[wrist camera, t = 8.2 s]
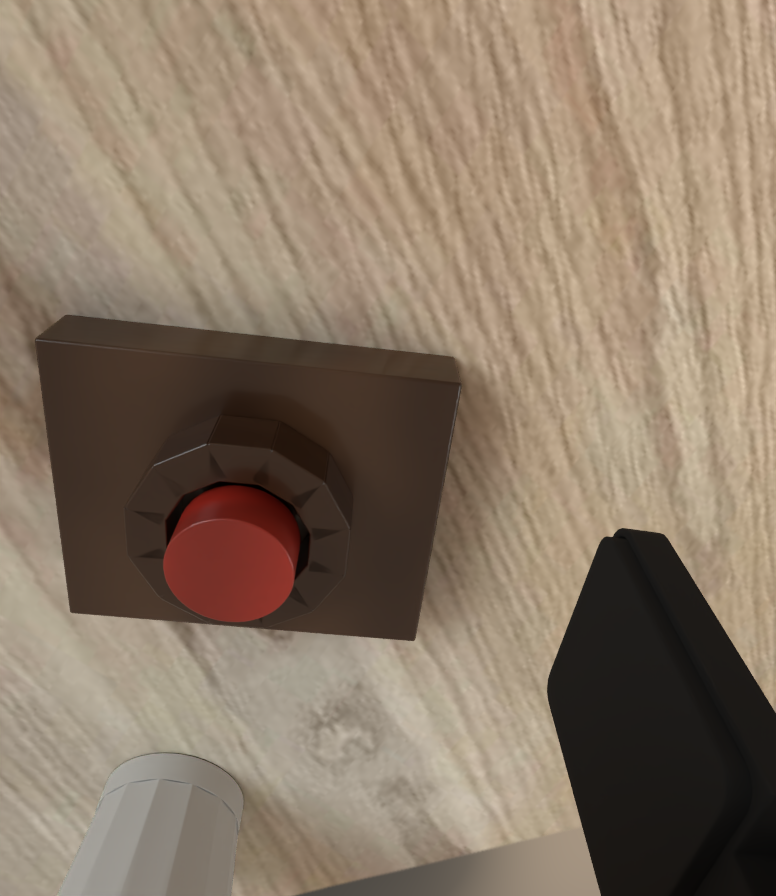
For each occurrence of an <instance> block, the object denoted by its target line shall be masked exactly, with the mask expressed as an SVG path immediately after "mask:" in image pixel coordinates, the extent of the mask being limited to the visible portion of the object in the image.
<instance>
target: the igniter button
mask: <svg viewBox="0 0 776 896" xmlns="http://www.w3.org/2000/svg"><path fill="white" fill-rule="evenodd" d="M300 543H301V536H300V530H299V527H298V524H297V522H296V520H295V518H294V516H293V515H292V513H291V512H290V510H289V509H288V508H287V507H286V506H285V505H284V504H283V503H282V502H281V501H279V500H278V499H277V498H275V497H274V496H272V495H270V494H268V493H266V492H264V491H262V490H259V489H256V488H252V487H248V486H241V485H228V486H221V487H216V488H213V489H210V490H208V491H205V492H203V493H201V494H200V495H198V496H197V497H195V498H194V499H193V500H192V501H191V502H190V503H189V504H188V505H187V506H186V508H185V509H184V511H183V513H182V515H181V517H180V519H179V522H178V524H177V526H176V528H175V530H174V533H173V535H172V537H171V539H170V542H169V544H168V546H167V549H166V551H165V554H164V559H163V570H164V575H165V579H166V582H167V584H168V586H169V588H170V589H171V591H172V592H173V594H174V595H175V596H176V597H177V599H178V600H180V601H181V602H182V603H183V604H184V605H185V606H187V607H188V608H189V609H191V610H193V611H194V612H196V613H198V614H200V615H203V616H205V617H208V618H211V619H214V620H219V621H225V622H245V621H251V620H255V619H259V618H261V617H264V616H266V615H268V614H270V613H272V612H273V611H275V610H276V609H277V608H279V607H280V606H281V605H282V604H283V603H284V602H285V600H286V599H287V598H288V596H289V594H290V593H291V591H292V588H293V585H294V579H295V573H296V567H297V561H298V556H299V550H300Z"/></svg>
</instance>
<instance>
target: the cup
mask: <svg viewBox="0 0 776 896" xmlns="http://www.w3.org/2000/svg"><path fill="white" fill-rule="evenodd" d="M243 806H244V800H243V795H242V792H241V789H240V788H239V786H238V784H237V783H236V782H235V780H234V779H233V778H232V777H231V776H230V775H229V774H227V773H226V772H225V771H224V770H222V769H221V768H219V767H217V766H216V765H214V764H212V763H210V762H207V761H205V760H202V759H199V758H196V757H192V756H188V755H182V754H173V753H157V754H149V755H144V756H140V757H136V758H134V759H131V760H129V761H127V762H125V763H123V764H122V765H120V766H119V767H117V768H116V769H115V770H114V771H113V772H112V773H111V775H110V776H109V778H108V780H107V782H106V785H105V788H104V790H103V793H102V795H101V798H100V801H99V803H98V806H97V808H96V812H95V815H94V818H93V820H92V822H91V824H90V826H89V828H88V830H87V832H86V835H85V837H84V839H83V841H82V843H81V845H80V847H79V849H78V852H77V854H76V856H75V858H74V860H73V862H72V864H71V866H70V869H69V871H68V873H67V875H66V877H65V879H64V881H63V883H62V886H61V888H60V890H59V892H58V894H57V896H231V893H232V884H233V875H234V866H235V857H236V848H237V839H238V833H239V828H240V822H241V817H242V811H243Z"/></svg>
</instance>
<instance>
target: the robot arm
mask: <svg viewBox="0 0 776 896" xmlns="http://www.w3.org/2000/svg"><path fill="white" fill-rule="evenodd" d="M547 693H548V701H549V705H550V709H551V713H552V716H553V720H554V724H555V728H556V731H557V735H558V739H559V742H560V746H561V750H562V753H563V757H564V761H565V764H566V768H567V772H568V775H569V779H570V783H571V787H572V790H573V794H574V798H575V801H576V805H577V809H578V812H579V816H580V820H581V823H582V827H583V830H584V834H585V838H586V842H587V845H588V849H589V853H590V857H591V860H592V863H593V868H594V871H595V875H596V878H597V882H598V885H599V889H600V893H601V896H776V713H775V711H774V710H773V708H772V706H771V705H770V703H769V701H768V700H767V698H766V697H765V695H764V693H763V692H762V690H761V689H760V687H759V685H758V684H757V682H756V680H755V679H754V677H753V676H752V674H751V672H750V671H749V669H748V668H747V666H746V664H745V663H744V661H743V659H742V658H741V656H740V655H739V653H738V651H737V650H736V648H735V647H734V645H733V643H732V642H731V640H730V639H729V637H728V635H727V634H726V632H725V630H724V629H723V627H722V626H721V624H720V622H719V621H718V619H717V618H716V616H715V614H714V613H713V611H712V609H711V608H710V606H709V605H708V603H707V601H706V600H705V598H704V597H703V595H702V593H701V592H700V590H699V589H698V587H697V585H696V584H695V582H694V580H693V579H692V577H691V576H690V574H689V572H688V571H687V569H686V568H685V566H684V564H683V563H682V561H681V559H680V558H679V556H678V555H677V553H676V551H675V550H674V548H673V547H672V545H671V543H670V542H669V540H668V539H667V538H666V536H665V535H664V534H661V533H655V532H648V531H640V530H633V529H625V528H622V529H619V530H618V531H617V532H616V533H615V534H614V536H613V537H605V538H603V539H602V540H601V542H600V544H599V546H598V549H597V551H596V554H595V557H594V559H593V562H592V565H591V567H590V570H589V572H588V575H587V578H586V580H585V583H584V585H583V588H582V591H581V593H580V596H579V598H578V601H577V604H576V606H575V609H574V612H573V614H572V617H571V619H570V622H569V625H568V627H567V630H566V632H565V635H564V638H563V640H562V643H561V645H560V648H559V651H558V653H557V656H556V658H555V661H554V664H553V666H552V669H551V672H550V675H549V678H548V687H547Z"/></svg>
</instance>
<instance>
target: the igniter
mask: <svg viewBox="0 0 776 896" xmlns="http://www.w3.org/2000/svg"><path fill="white" fill-rule="evenodd" d="M35 345H36V352H37V360H38V368H39V375H40V383H41V391H42V398H43V406H44V414H45V422H46V429H47V437H48V445H49V452H50V460H51V468H52V475H53V483H54V491H55V498H56V506H57V514H58V521H59V529H60V537H61V544H62V552H63V560H64V567H65V575H66V583H67V590H68V598H69V606H70V612H71V613H78V614H91V615H103V616H115V617H127V618H139V619H151V620H164V621H176V622H188V623H200V624H212V625H224V626H237V627H249V628H261V629H273V630H285V631H297V632H310V633H322V634H334V635H346V636H358V637H371V638H383V639H395V640H407V641H414V640H415V638H416V633H417V627H418V622H419V616H420V611H421V606H422V600H423V595H424V589H425V584H426V578H427V573H428V567H429V562H430V556H431V551H432V546H433V540H434V535H435V529H436V524H437V518H438V513H439V507H440V502H441V497H442V491H443V486H444V480H445V475H446V469H447V464H448V458H449V453H450V447H451V442H452V437H453V431H454V426H455V420H456V415H457V409H458V404H459V398H460V393H461V387H462V384H461V380H460V376H459V373H458V369H457V365H456V361H455V358H454V357H449V356H440V355H431V354H422V353H412V352H403V351H394V350H385V349H376V348H366V347H357V346H348V345H339V344H330V343H321V342H311V341H302V340H293V339H284V338H275V337H265V336H256V335H247V334H238V333H229V332H219V331H210V330H201V329H192V328H183V327H174V326H164V325H155V324H146V323H137V322H128V321H118V320H109V319H100V318H91V317H82V316H72V315H65V316H64V317H62V318H61V319H60V320H58V321H57V322H56V323H55V324H53V325H52V326H51V327H49V328H48V329H47V330H46V331H44V332H43V333H42V334H40V335H39V336H38V337H37V338H36V339H35ZM228 485H241V486H248V487H252V488H256V489H259V490H262V491H264V492H266V493H268V494H270V495H272V496H274V497H275V498H277V499H278V500H279V501H281V502H282V503H283V504H284V505H285V506H286V507H287V508H288V509H289V510H290V512H291V513H292V515H293V516H294V518H295V520H296V522H297V524H298V527H299V530H300V536H301V543H300V550H299V556H298V561H297V567H296V573H295V579H294V585H293V588H292V591H291V593H290V594H289V596H288V598H287V599H286V600H285V602H284V603H283V604H282V605H281V606H280V607H279V608H277V609H276V610H275V611H273V612H272V613H270V614H268V615H266V616H264V617H261V618H259V619H255V620H251V621H245V622H225V621H219V620H214V619H211V618H208V617H205V616H203V615H200V614H198V613H196V612H194V611H193V610H191V609H189V608H188V607H187V606H185V605H184V604H183V603H182V602H181V601H180V600H178V599H177V597H176V596H175V595H174V594H173V592H172V591H171V589H170V588H169V586H168V584H167V582H166V579H165V575H164V570H163V559H164V554H165V551H166V549H167V546H168V544H169V542H170V539H171V537H172V535H173V533H174V530H175V528H176V526H177V524H178V522H179V519H180V517H181V515H182V513H183V511H184V509H185V508H186V506H187V505H188V504H189V503H190V502H191V501H192V500H193V499H194V498H195V497H197V496H198V495H200V494H201V493H203V492H205V491H208V490H210V489H213V488H216V487H221V486H228Z"/></svg>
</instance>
